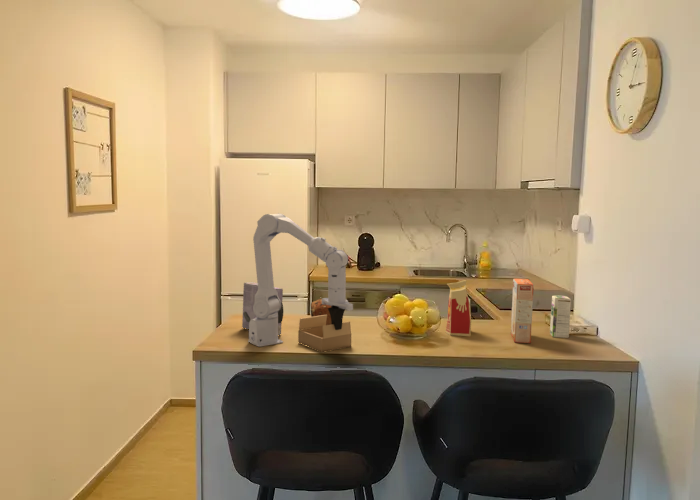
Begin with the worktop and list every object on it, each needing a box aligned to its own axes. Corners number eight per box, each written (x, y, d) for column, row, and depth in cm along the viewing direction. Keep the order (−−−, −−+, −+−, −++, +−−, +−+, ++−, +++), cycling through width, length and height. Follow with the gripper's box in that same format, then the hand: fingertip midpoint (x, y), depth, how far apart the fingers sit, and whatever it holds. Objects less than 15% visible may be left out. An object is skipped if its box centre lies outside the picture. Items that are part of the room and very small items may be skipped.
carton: (321, 352, 176) (321, 338, 176) (298, 343, 187) (298, 330, 187) (351, 346, 184) (351, 333, 183) (326, 338, 195) (327, 325, 194)
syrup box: (549, 333, 205) (551, 295, 203) (565, 334, 204) (567, 295, 202) (552, 337, 199) (554, 297, 198) (569, 338, 198) (571, 298, 197)
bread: (338, 330, 207) (338, 304, 206) (309, 330, 206) (309, 304, 205) (337, 319, 225) (337, 295, 224) (311, 319, 225) (311, 295, 224)
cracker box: (531, 344, 189) (534, 284, 188) (513, 343, 191) (516, 283, 189) (527, 334, 203) (529, 278, 201) (510, 333, 204) (512, 277, 202)
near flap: (323, 338, 176) (324, 338, 176) (322, 326, 176) (323, 326, 176) (350, 333, 183) (351, 333, 183) (349, 321, 183) (350, 321, 183)
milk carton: (468, 330, 209) (470, 278, 207) (471, 336, 199) (473, 281, 198) (444, 329, 209) (445, 277, 208) (446, 335, 200) (447, 281, 198)
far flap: (325, 325, 194) (325, 325, 194) (326, 315, 193) (326, 314, 194) (299, 329, 187) (298, 329, 188) (300, 318, 187) (299, 318, 187)
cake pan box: (284, 335, 197) (284, 287, 196) (273, 338, 194) (273, 288, 192) (252, 327, 211) (252, 281, 209) (241, 329, 207) (241, 282, 205)
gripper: (360, 289, 175) (360, 331, 176) (333, 284, 187) (333, 323, 188) (342, 291, 171) (342, 334, 172) (316, 286, 182) (316, 326, 183)
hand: (336, 329), depth 180 cm, fingers closed, pressing on near flap
